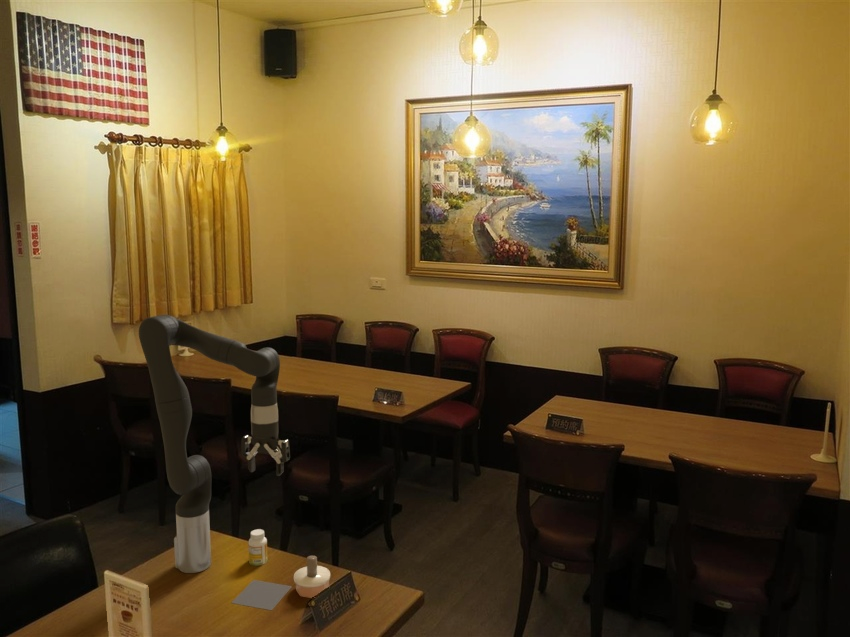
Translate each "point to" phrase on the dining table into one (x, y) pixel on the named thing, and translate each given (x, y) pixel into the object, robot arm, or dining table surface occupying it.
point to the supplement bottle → (257, 548)
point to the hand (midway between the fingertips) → (265, 473)
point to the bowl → (310, 590)
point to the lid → (312, 574)
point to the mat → (261, 595)
